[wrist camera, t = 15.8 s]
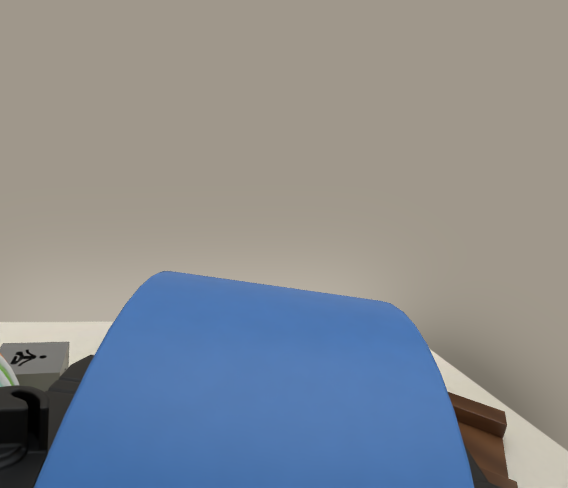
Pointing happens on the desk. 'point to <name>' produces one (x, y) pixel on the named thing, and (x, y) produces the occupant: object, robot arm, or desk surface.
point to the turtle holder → (6, 374)
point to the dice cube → (37, 362)
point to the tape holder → (484, 437)
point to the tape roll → (257, 395)
